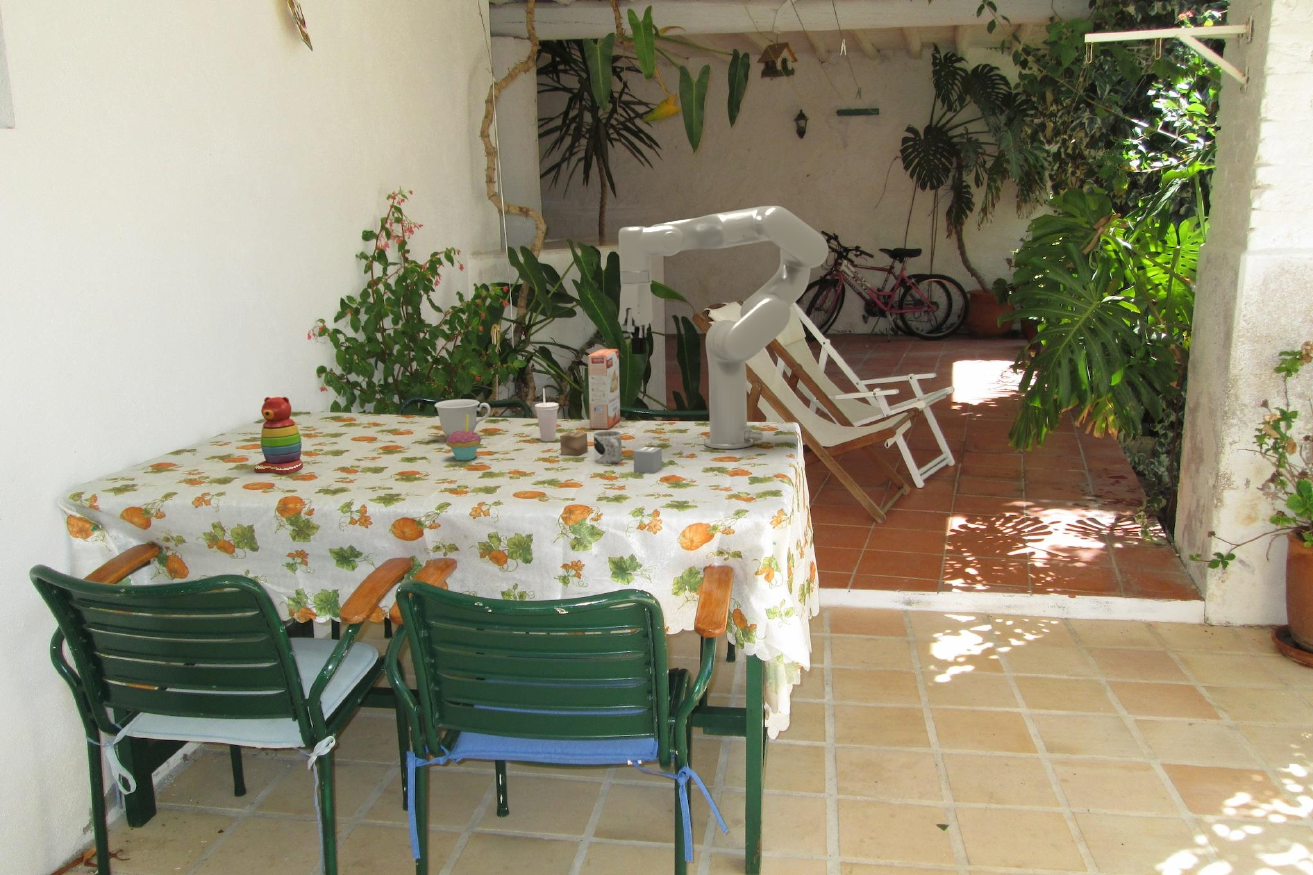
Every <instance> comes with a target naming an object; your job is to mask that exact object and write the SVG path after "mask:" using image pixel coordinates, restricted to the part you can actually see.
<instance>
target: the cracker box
mask: <svg viewBox="0 0 1313 875" xmlns="http://www.w3.org/2000/svg"><path fill="white" fill-rule="evenodd" d="M619 352H620V350H619V349H617V348H608V349H607V348H605V349H604V348H602V349H598V350H596V351H594V352H592V353H590V354H589V355H587V367H588V369H587V371H588V372H587V373H588V404H589V406H588V408H589V429H591V430H609V429H611V428H612V427H613V426H615V425H616V424H617V423H618V422H620V421H621V412H620V411H621V398H620V397H621V396H620V395H621V394H620V389H621V388H620V356H619V355H620V354H619Z"/></svg>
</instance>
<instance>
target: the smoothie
mask: <svg viewBox="0 0 1313 875" xmlns="http://www.w3.org/2000/svg"><path fill="white" fill-rule="evenodd" d="M542 400H543V402H540V403H536V404H535V405H534V410H535V411H536V416H537V422H538V428H539V433H540V438H541V441H542V442H548V443H549V442H555V441H556V438H557V436H556V435H557V422H558V409H559V408H560V406H559V403H557V402H546V390H545V388H544V387H543V388H542Z"/></svg>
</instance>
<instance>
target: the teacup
mask: <svg viewBox="0 0 1313 875" xmlns="http://www.w3.org/2000/svg"><path fill="white" fill-rule="evenodd" d="M478 406H479V407H478ZM434 407H435V408H436V410H437V414H438V418H439V419H438V420H439V423H440V427H441V430H442V432H443V434H445V435H446V436H447V437H448V436H449V435H451V434H452V433H453V432H457V431H465V429H466V415H467V414H468V412H469V414H468V415H469V424H468V430H470V431H472V432H475V429H476V427H477V425H478V424H479V423H480V422H482V421H484V420H486V419H487V418H489V417H490V415H491V412H492V410H491V406H490V405H489V403H487V402H482V403H480V401H478V400H477V399H468V398H467V399H466V398H465V399H464V398H462V399H460V398H459V399H449V400H447V399H446V400H442V401H439V402H436V403H435V404H434ZM483 407H484V408H486V409H487V412H486V414H485V415H484V416H482V417H479V418H478V419H477V415H478V414H477V412H481V411H482V408H483Z"/></svg>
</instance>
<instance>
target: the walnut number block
mask: <svg viewBox="0 0 1313 875" xmlns="http://www.w3.org/2000/svg"><path fill="white" fill-rule="evenodd" d="M559 439H560V440H559V441H560V455H561V456H571V457H572V456H573V457H580V456H582V455H584V454H587V453H588V452H589V450H588V449H589V446H588V444H589V443H588V432H583V431H582V432H581V431H567V432H566V433H563V434H560V435H559Z"/></svg>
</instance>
